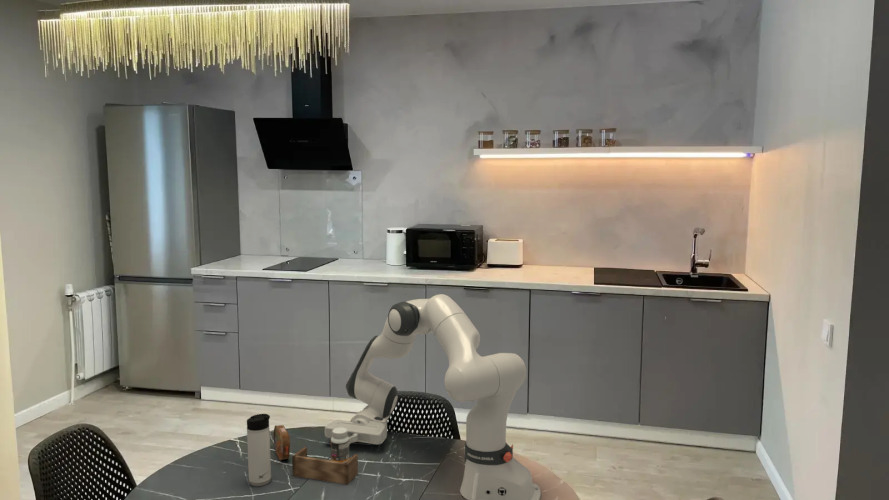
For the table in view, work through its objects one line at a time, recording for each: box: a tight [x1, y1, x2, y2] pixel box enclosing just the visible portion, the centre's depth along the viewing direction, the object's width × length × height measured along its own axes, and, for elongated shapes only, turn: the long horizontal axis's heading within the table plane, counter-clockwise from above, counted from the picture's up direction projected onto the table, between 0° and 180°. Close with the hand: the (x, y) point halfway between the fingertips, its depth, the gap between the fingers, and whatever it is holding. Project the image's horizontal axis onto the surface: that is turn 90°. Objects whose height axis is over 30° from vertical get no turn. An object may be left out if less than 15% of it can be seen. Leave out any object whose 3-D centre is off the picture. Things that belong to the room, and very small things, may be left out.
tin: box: [273, 424, 291, 461], centre depth 203 cm, size 15×3×8 cm, turn 25°
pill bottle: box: [330, 427, 350, 463], centre depth 199 cm, size 6×6×10 cm
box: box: [291, 446, 359, 486], centre depth 189 cm, size 18×7×6 cm, turn 72°
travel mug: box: [246, 413, 272, 487], centre depth 184 cm, size 6×7×20 cm
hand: (344, 441), depth 201 cm, fingers closed, pressing on pill bottle
